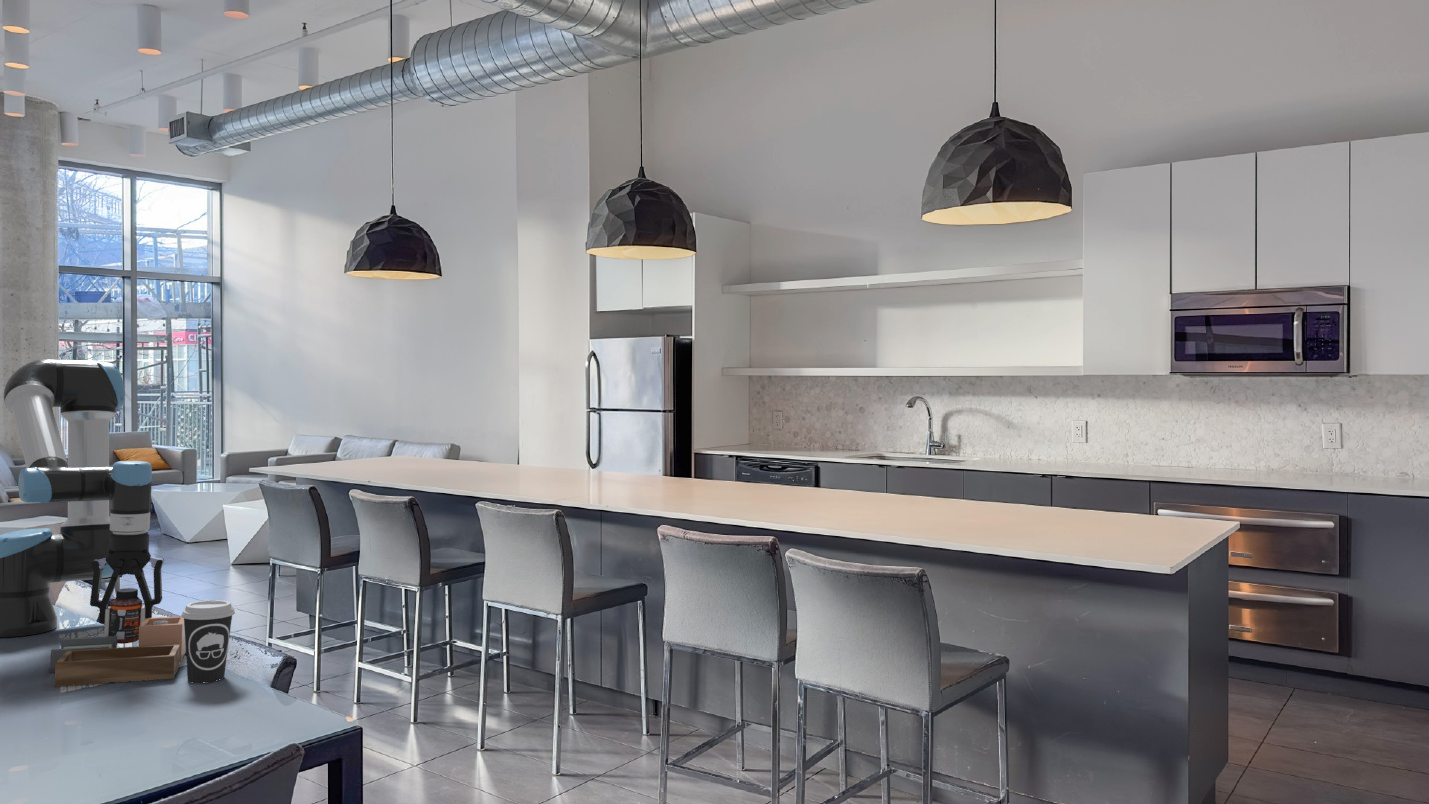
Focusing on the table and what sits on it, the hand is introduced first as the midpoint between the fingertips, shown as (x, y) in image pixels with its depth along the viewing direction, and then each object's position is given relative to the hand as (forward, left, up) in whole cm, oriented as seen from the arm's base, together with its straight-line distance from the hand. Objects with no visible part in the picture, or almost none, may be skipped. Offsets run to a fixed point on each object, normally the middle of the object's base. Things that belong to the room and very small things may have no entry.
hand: (125, 636), depth 211 cm
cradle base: (+10, -6, -3) cm, 12 cm away
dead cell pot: (+9, +8, -3) cm, 12 cm away
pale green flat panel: (+10, -6, -1) cm, 11 cm away
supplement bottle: (0, 0, -1) cm, 1 cm away
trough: (+21, +2, -3) cm, 21 cm away
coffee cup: (+28, +18, -3) cm, 33 cm away
